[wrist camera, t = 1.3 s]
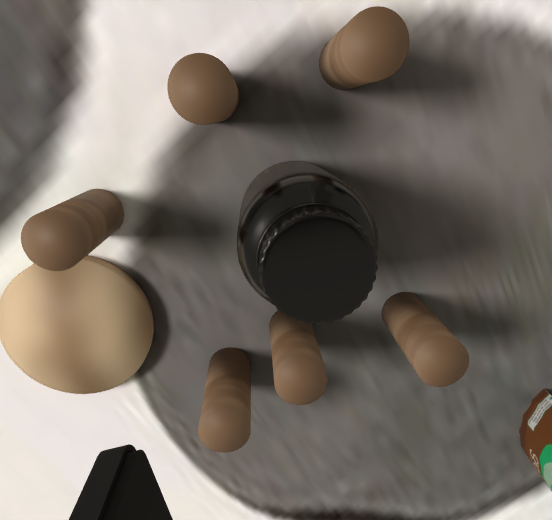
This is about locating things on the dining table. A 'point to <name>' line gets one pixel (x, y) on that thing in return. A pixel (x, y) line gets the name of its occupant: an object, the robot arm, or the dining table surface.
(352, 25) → the walnut dowels
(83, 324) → the cork coaster
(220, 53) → the dining table surface
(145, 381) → the dining table surface
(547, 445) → the food container
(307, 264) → the supplement bottle
